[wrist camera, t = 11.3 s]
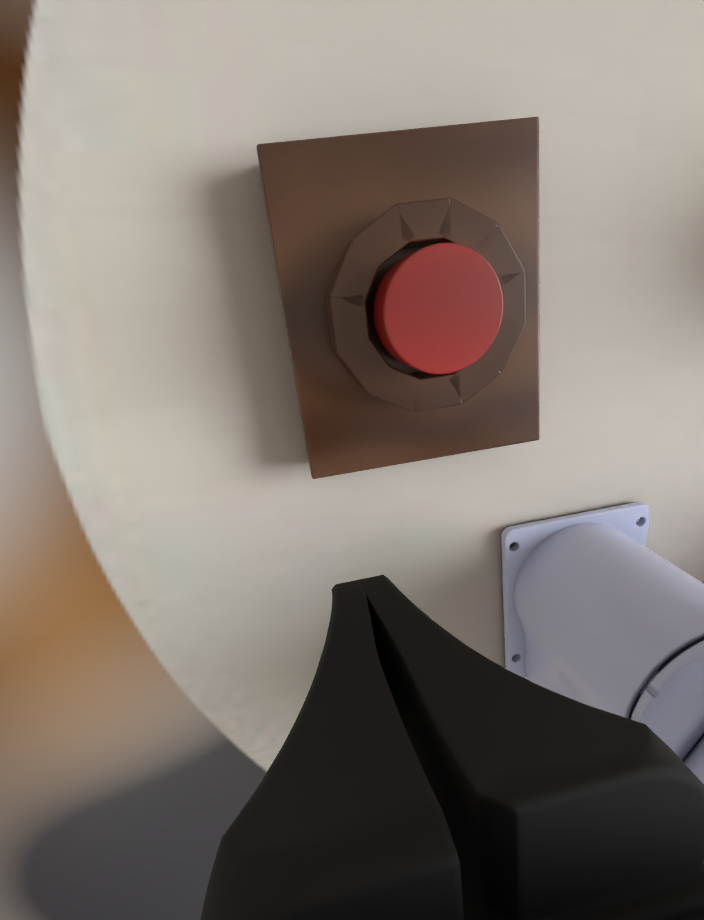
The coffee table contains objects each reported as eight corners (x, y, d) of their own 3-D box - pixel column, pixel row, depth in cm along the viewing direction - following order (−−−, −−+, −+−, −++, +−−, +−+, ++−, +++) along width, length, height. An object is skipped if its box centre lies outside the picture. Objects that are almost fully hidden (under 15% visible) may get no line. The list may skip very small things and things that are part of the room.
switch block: (515, 428, 22) (564, 451, 18) (309, 463, 21) (315, 495, 17) (510, 138, 18) (570, 92, 15) (258, 164, 17) (252, 121, 14)
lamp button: (484, 360, 17) (505, 365, 15) (379, 376, 17) (390, 383, 15) (479, 243, 16) (502, 234, 14) (366, 257, 15) (376, 250, 14)
